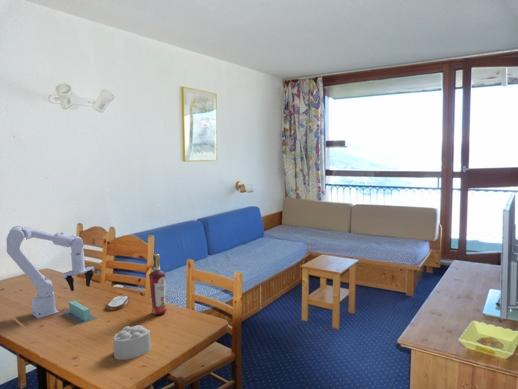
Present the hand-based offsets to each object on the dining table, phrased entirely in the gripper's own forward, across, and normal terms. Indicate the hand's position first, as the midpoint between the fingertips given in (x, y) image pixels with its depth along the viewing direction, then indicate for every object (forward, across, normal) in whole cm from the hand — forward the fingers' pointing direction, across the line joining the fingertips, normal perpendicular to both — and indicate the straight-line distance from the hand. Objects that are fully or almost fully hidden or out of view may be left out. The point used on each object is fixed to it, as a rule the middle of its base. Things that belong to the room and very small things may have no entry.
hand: (80, 288), depth 190 cm
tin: (+8, +9, -10) cm, 16 cm away
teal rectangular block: (+9, -6, -12) cm, 16 cm away
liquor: (+10, +20, -37) cm, 43 cm away
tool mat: (+9, -6, -11) cm, 16 cm away
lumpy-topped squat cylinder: (+10, -7, -59) cm, 60 cm away
